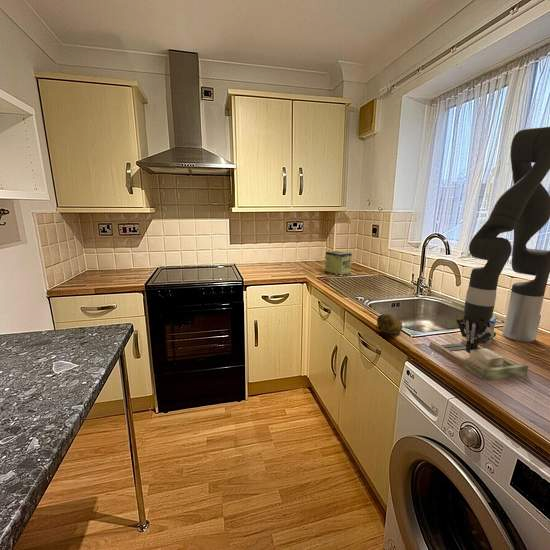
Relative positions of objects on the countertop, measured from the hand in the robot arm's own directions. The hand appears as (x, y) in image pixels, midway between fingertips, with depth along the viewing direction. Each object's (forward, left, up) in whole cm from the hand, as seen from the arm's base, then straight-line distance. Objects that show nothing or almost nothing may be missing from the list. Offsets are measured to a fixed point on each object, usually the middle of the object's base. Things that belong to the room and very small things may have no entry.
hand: (470, 352), depth 96 cm
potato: (+15, -22, -2) cm, 26 cm away
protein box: (-8, -123, -2) cm, 123 cm away
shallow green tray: (0, +1, -2) cm, 2 cm away
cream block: (-1, +5, -2) cm, 5 cm away
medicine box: (-17, -11, -2) cm, 20 cm away
